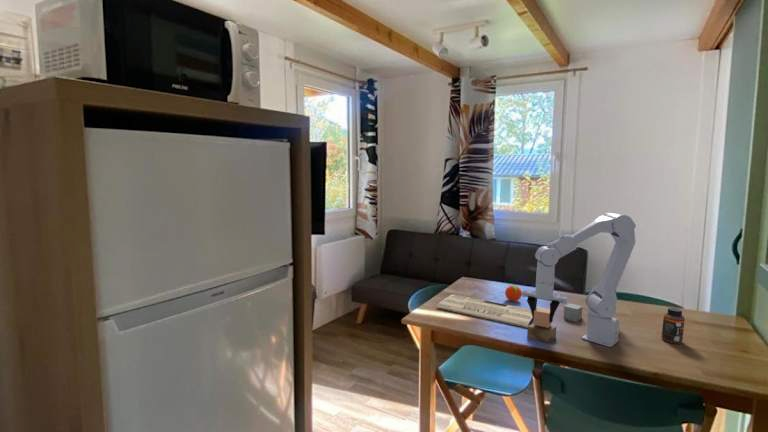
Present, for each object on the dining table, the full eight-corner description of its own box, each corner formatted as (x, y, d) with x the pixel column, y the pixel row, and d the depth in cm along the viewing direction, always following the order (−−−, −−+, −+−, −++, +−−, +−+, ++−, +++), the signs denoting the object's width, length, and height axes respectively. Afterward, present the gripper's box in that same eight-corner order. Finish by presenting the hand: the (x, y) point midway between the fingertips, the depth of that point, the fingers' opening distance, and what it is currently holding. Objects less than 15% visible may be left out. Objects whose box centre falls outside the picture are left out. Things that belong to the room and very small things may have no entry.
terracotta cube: (551, 323, 146) (552, 309, 145) (548, 327, 142) (549, 313, 141) (536, 320, 149) (537, 306, 148) (533, 324, 144) (534, 310, 144)
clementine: (524, 304, 179) (525, 288, 178) (508, 304, 179) (508, 288, 178) (518, 298, 187) (519, 283, 186) (503, 298, 187) (503, 282, 186)
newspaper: (538, 315, 168) (539, 308, 168) (526, 331, 152) (526, 324, 152) (453, 298, 188) (454, 292, 187) (435, 311, 172) (435, 304, 171)
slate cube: (581, 318, 164) (582, 306, 163) (576, 321, 161) (577, 309, 160) (568, 315, 168) (569, 303, 167) (563, 318, 164) (564, 306, 164)
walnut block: (555, 337, 145) (556, 326, 145) (546, 343, 140) (547, 332, 140) (536, 331, 150) (537, 321, 150) (527, 337, 145) (527, 326, 145)
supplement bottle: (682, 345, 140) (686, 313, 139) (661, 341, 143) (664, 310, 142) (681, 339, 145) (685, 308, 144) (661, 335, 148) (664, 305, 147)
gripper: (569, 282, 142) (567, 320, 144) (526, 275, 150) (524, 312, 152) (566, 287, 136) (563, 327, 138) (520, 280, 144) (518, 318, 146)
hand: (542, 319), depth 145 cm, fingers closed on terracotta cube, 5 cm apart
